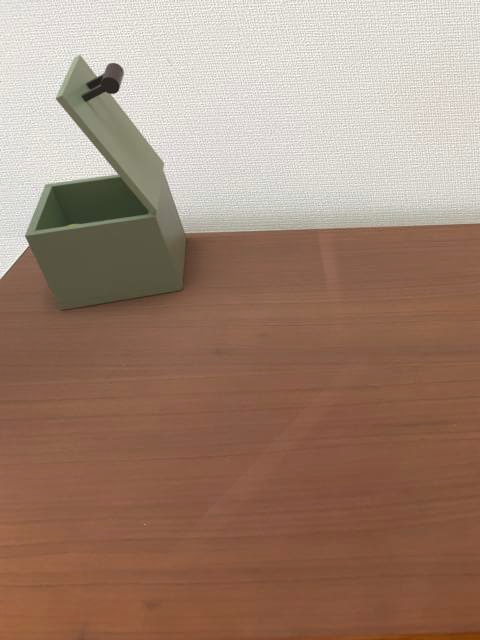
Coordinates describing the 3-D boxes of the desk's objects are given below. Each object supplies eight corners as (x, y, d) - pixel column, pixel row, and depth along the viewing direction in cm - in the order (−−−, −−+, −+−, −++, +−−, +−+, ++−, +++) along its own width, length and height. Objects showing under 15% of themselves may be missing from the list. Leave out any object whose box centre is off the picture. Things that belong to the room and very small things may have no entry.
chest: (60, 310, 97) (24, 235, 91) (76, 254, 107) (45, 184, 101) (182, 290, 100) (155, 216, 94) (186, 238, 110) (162, 167, 104)
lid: (55, 98, 83) (98, 75, 83) (74, 57, 94) (112, 37, 93) (151, 214, 93) (189, 194, 93) (158, 166, 103) (193, 147, 103)
